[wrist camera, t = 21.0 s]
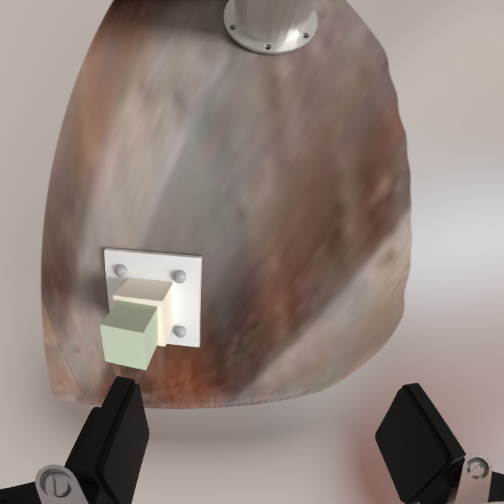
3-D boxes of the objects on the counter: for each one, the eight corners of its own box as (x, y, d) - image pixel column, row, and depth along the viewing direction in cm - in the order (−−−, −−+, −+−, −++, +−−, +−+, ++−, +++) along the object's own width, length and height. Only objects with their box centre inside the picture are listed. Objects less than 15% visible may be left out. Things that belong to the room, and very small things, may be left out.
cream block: (129, 277, 38) (112, 295, 32) (173, 281, 38) (162, 301, 33) (132, 318, 40) (118, 339, 34) (174, 323, 40) (165, 346, 35)
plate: (107, 247, 38) (101, 251, 36) (202, 255, 39) (200, 260, 37) (115, 332, 42) (111, 337, 40) (199, 343, 43) (198, 350, 41)
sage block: (119, 300, 33) (100, 324, 27) (157, 306, 33) (143, 333, 27) (122, 334, 34) (105, 361, 28) (158, 341, 34) (146, 370, 29)
